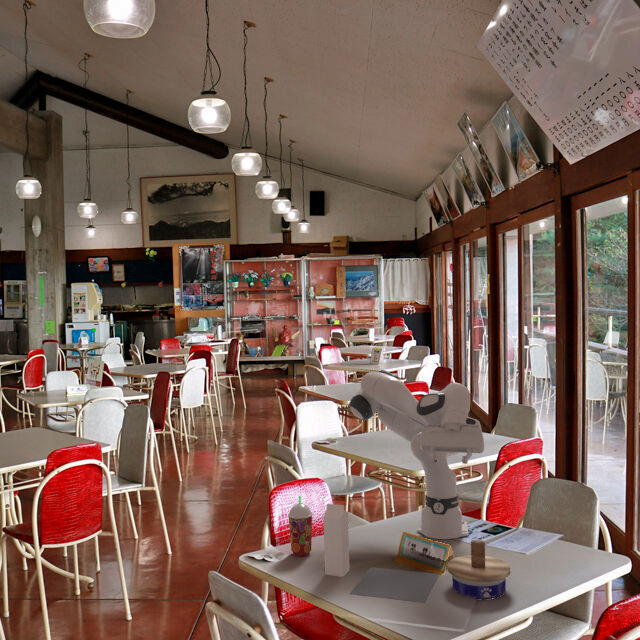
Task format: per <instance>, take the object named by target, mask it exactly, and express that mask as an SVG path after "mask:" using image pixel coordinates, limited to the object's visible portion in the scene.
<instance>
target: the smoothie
mask: <svg viewBox="0 0 640 640" xmlns="http://www.w3.org/2000/svg"><path fill="white" fill-rule="evenodd" d="M301 497H302V495H298V503H296V504H294V505H293V506H292V507H291V508H290V509H289V512H288V513H287V516H288V525H289V535H290V538H289V539H290V549H291V552H292V555H293V556H296V557H306V556H307V557H308V556H309V555H310V554H311V551H312V537H313V536H312V535H313V533H312V532H313V529H312V528H313V512H312V510H311V509H310V507H308V505H307V504H305V503H302V500H301V499H302V498H301Z"/></svg>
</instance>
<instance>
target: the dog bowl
mask: <svg viewBox="0 0 640 640" xmlns="http://www.w3.org/2000/svg"><path fill="white" fill-rule="evenodd" d="M451 576H452V577H451V578H452V579H451V580H452V588H453V590H454V591H455V592H456V593H458V594H459V595H463V596H465V597H469V598H474V600H475V599H491V600H493V599H492V598H496V599H498V598H497V597H499V598H501V597H502V595H503V594H504V593H505V594H506V587H507V586H506V585H507V584H506V583H507V582H506V578H507V577H506V578H504V579H501V580H497V581H491V582H476V581H468V580H464V579H460V578H457V577H455V576H453V575H451ZM505 594H504V595H505ZM504 595H503V596H504ZM500 596H501V597H500Z"/></svg>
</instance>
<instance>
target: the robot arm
mask: <svg viewBox="0 0 640 640" xmlns="http://www.w3.org/2000/svg"><path fill="white" fill-rule="evenodd" d="M348 407H349V409H350V411H351V413H352V414H353V416H355V418H358V419H360V420H361V421H368V420H369V419H371V418H372V417H374V415H375V414H376V413H377V418H378V420H379V421H380V422H381V423H382V424H383V425H384V426H385V427H386V428H387V429H389V430H390V431H392V432H393V433H394V434H396V435H398V436H400V437H401V438H403V440H406V441H408V442H410V451H411V453H412V455H413V456H414V457H415V458H416V459H417V460H418V461H419V462H420V463H421V464H420V465H422V469H423V471H424V476H425V477H424V478H425V479H424V480H425V495H424V505H425V506H424V507H423V508H422V509H421V517H420V518H421V520H420V522H421V524H420V526H419V527H418V528H416V532H417V533H419V534H422V535H424V536H425V537H427V538H430V539H436V540H453V539H458V538H461V537H469V536H470V535H469V529H468V528H469V527H468V521H466V520H463V513H462V510H461V508H460V506H459V503H460V501H459V496H458V491H457V475H456V472H455V471H454V470H453V469H451V468H450V466H449V464H448V460H447V459H448V457H451V456H455V455H457V454H459V453H461V454H462V453H464V454H465V453H466V454H465V455H464V456H463V455H462V457H461V458H462V459H461V462H462V464H464V465H466V464H467V465H468V462H469V459H470V458H471V457H472V455H473V454H482V453H483V452H484V451H485V441H484V434H483V430H482V425H481V422H480V420H478V419H475V418H472V417H469V413H470V409H471V392H470V390H469V388H467V386H466V385H464V384H462V383H460V382H459V383H458V382H451V383H448V384H447V385H446V386H445V387H444V388H442V389H441V390H440V391H438V392H432V393H426V394H425V395H423V396H422V397H421V398H420V399H419V400H418V399H417V398H416V397H415V395H413V393H412V392H411V391H410V390H409V388H408V387H407V386H406V384H404V383H403V382H402V381H401V380H399V379H398V378H397V377H396V376H395V375H394V374H393V373H391V372H390V371H388V370H387V369H380V370H378V371H370V372H367V373H366V374H364V376H362V379H361V381H360V389H359V390H358V391H357V392H356V393H355V395H353V396H352V398H350V401H349V403H348Z"/></svg>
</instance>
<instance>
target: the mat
mask: <svg viewBox="0 0 640 640" xmlns="http://www.w3.org/2000/svg"><path fill="white" fill-rule="evenodd" d="M440 575H441V574H439V573H432V572H431V573H429V572H421V571H412V570H411V571H410V570H402V569H401V570H400V569H390V568H383V567H382V568H381V567H374V566H373V567H370V568H369V569H368V571H367V572H366V573H365V574H364V575H363V577H362V578H361V579H360V581H358V583H357V584H356V585H355V587H353V589H352V590H351V591H350V592H349V595H353V596H354V595H355V596H363V597H372V598H378V599H379V598H381V599H388V600H398V601H405V602H414V603H421V604H423V603H425V604H426V601H427V599H428V597H429V595H430V593H431V592H432V590H433V588H434V585H435V584H436V582H437V581H438V578H439V577H440Z"/></svg>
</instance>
